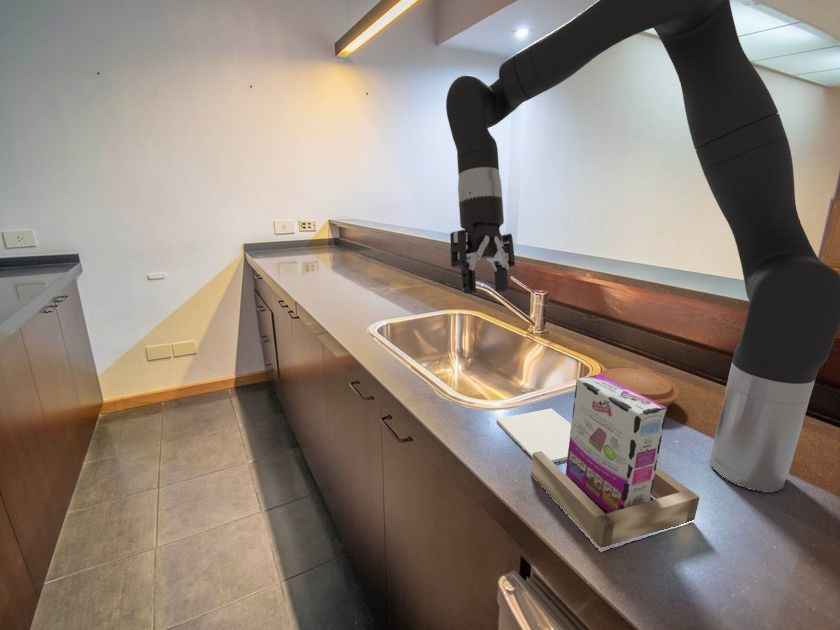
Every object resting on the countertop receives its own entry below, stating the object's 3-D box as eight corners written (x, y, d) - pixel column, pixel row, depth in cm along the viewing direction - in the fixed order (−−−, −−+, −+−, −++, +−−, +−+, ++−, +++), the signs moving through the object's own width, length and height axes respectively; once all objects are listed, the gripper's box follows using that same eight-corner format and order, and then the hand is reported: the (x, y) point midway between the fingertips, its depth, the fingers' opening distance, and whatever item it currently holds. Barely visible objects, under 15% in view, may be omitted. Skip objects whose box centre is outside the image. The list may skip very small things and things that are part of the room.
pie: (675, 428, 77) (679, 403, 75) (586, 405, 85) (589, 383, 84) (678, 394, 89) (682, 373, 88) (601, 378, 97) (603, 357, 96)
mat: (551, 411, 83) (551, 408, 83) (601, 451, 70) (601, 448, 70) (496, 421, 79) (496, 418, 79) (539, 466, 66) (539, 463, 66)
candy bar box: (649, 517, 56) (670, 407, 51) (620, 528, 54) (639, 415, 50) (589, 467, 66) (602, 371, 61) (563, 475, 64) (574, 377, 60)
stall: (610, 456, 69) (613, 434, 68) (693, 522, 55) (699, 497, 54) (530, 475, 64) (532, 453, 63) (600, 552, 51) (604, 525, 49)
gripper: (468, 189, 66) (475, 292, 67) (522, 198, 75) (528, 289, 76) (435, 200, 72) (442, 295, 72) (489, 207, 81) (495, 292, 81)
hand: (486, 292), depth 74 cm, fingers open, 8 cm apart
